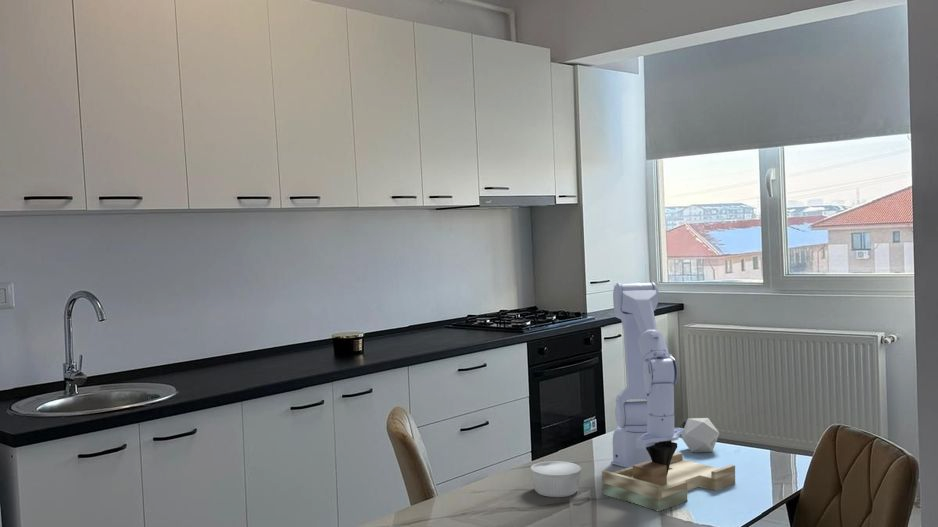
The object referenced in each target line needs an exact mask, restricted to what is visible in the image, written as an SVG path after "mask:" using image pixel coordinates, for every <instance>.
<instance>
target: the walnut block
mask: <svg viewBox="0 0 938 527" xmlns="http://www.w3.org/2000/svg"><path fill="white" fill-rule="evenodd" d="M633 478H635V479H638V480H642V481H646V482H649V483H653V484H656V485H660V486H663V485H666V484H667V466H666V465H662V464H658V463H654V462H650V461H646V462H643V463H639V464H636V465H633Z"/></svg>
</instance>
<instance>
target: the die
mask: <svg viewBox="0 0 938 527" xmlns="http://www.w3.org/2000/svg"><path fill="white" fill-rule="evenodd" d="M683 429H685V438H681V439H682V441H683V442H684V444H685V445H686V446H687V448H688V449H689V451H690V452H691V453H711V452H713V451H714V448H715V445H716V443H717V441H718V439H719V435H720V432H719V431H718V429H717V428H716V427H715V425H714V423H712V421H711V420H710V418H708V417H695V418H694V417H693V418H689V417H688V418H687V419H686V422H685V424H684V428H683Z"/></svg>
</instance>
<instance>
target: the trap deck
mask: <svg viewBox="0 0 938 527" xmlns="http://www.w3.org/2000/svg"><path fill="white" fill-rule="evenodd" d="M735 484H736V465H733V464H729V465H726V466H723V467H720V468H719V467H715V466H711V465H707V464H702V463H698V462H694V461H690V460H686V459H683V453H682V452H676V453H674V454H673V456H672V459H671V462H670V466H669V470H668V474H667V484H666V485H663V486H660V485H656V484H653V483H649V482H646V481H642V480H638V479H635V478H633V468H632V467H629V468H626V467H625V468H623V469H620V470H617V471H616V470H615V471H614V472H612V471H609V470H606V469H605V470H602V471H601V486H602V488H601V492H602V495H604V496H607V497H610V498H613V497H614V499H616V498H617V499H616V500H620V499H621V500H620V501H623V500H625V501H624V502H626V501H628V502H627V503H629V502H631V503H630V504H633V503H635V504H634V505H636V504H639V505H642V506H645V507H644V508H646V507H648V508H647V509H649V508H651V509H650V510H652V509H655V510H658V511H657V512H661V511H660V510H662V511H664V510H667V509H669V507H670V508H672V507H675V506H678V505H681V504H683V503H685V502H688V491H691V490H695V489H696V488H700V487H701V488H704V489H708V490H712V491H715V492H716V491H719V490H721V489H724V488H727V487H729V486H731V485H735ZM639 505H638V506H639ZM642 506H641V507H642ZM666 508H667V509H666ZM663 509H664V510H663ZM655 510H654V511H655Z"/></svg>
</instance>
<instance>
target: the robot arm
mask: <svg viewBox="0 0 938 527" xmlns="http://www.w3.org/2000/svg"><path fill="white" fill-rule="evenodd" d="M659 294H660V293H659V288H658V286H657V284H656V283H655V282H654V281H651V282H631V283H629V282H625V283H621V282H617V283H616V284H615V285H614V286H613V291H612V301H613V313H614V317H615V318H617V319H619V320H621V325H622V330H623V344H624V345H623V346H624V348H623V349H624V363H625V364H624V365H625V378H626V379H625V380H626V388H625V389H623V390H622V391H620V392H619V393H618V394H617V395H616V398H615V413H614V415H615V422H616V425H617V426H618V427H616V428H615V430H614V432H613V434H612V461H610V464H612V465H616V466H618V467H619V466H620V467H623V468H625V469H626V468H629V467H632V468H633V465H636V464H639V463H643V462H646V461H650V462H654V463H658V464H662V465H666V466H667V474H668V470H669V466H670V462H671V459H672V456H673V454H675V452H676V450H677V449H678V443H677V442H675V441H678V440H679V439H682V438H685V429H684V428H683V427H682V428H681V427H675V388H674V387H675V386H674V385H676V384H677V381H678V378H679V374H678V373H679V372H678V365H677V361H676V359H675V357H673V355H672V353H669V349H668V346H667V343H666V340H665V336H664V335H663V333H662V332H661V331H658V328H657V323H656V317H655V312H654V311H656V309H657V306H658V304H659V297H660V296H659ZM628 400H637V401H628ZM639 400H640V401H639ZM641 400H643V401H641Z"/></svg>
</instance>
